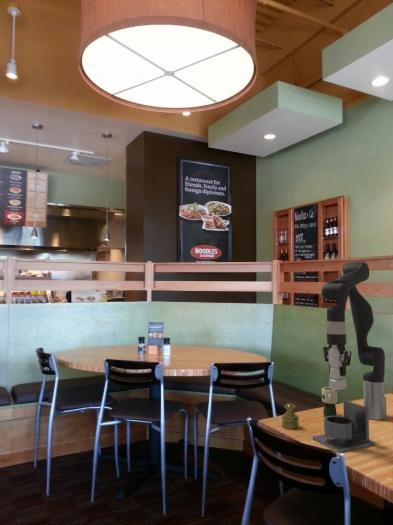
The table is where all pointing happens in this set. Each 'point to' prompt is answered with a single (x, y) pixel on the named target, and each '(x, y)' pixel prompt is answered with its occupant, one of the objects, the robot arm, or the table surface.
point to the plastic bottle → (336, 370)
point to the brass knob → (290, 418)
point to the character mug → (329, 401)
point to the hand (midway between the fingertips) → (337, 374)
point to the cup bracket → (347, 429)
